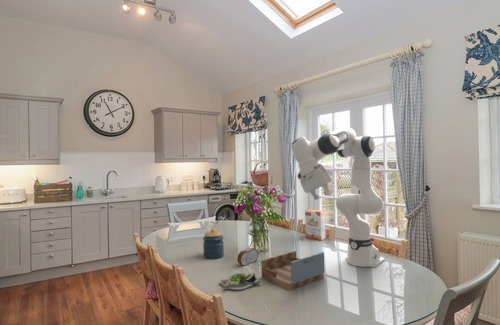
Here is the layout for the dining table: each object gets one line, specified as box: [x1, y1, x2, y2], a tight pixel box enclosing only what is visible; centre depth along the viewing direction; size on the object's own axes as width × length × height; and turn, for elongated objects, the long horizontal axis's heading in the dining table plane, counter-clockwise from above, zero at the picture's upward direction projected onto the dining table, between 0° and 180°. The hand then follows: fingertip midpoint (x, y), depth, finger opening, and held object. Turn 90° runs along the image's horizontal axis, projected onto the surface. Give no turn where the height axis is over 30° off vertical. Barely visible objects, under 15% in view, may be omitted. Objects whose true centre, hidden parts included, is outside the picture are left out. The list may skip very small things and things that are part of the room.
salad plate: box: [219, 272, 261, 291], centre depth 152 cm, size 19×18×5 cm
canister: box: [202, 228, 225, 260], centre depth 197 cm, size 13×13×18 cm
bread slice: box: [237, 247, 259, 267], centre depth 182 cm, size 15×3×8 cm, turn 134°
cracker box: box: [304, 208, 326, 241], centre depth 233 cm, size 14×6×21 cm, turn 43°
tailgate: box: [291, 252, 325, 284], centre depth 149 cm, size 22×2×10 cm, turn 127°
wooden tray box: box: [260, 250, 325, 291], centre depth 158 cm, size 24×20×9 cm
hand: (322, 197), depth 144 cm, fingers open, 8 cm apart
